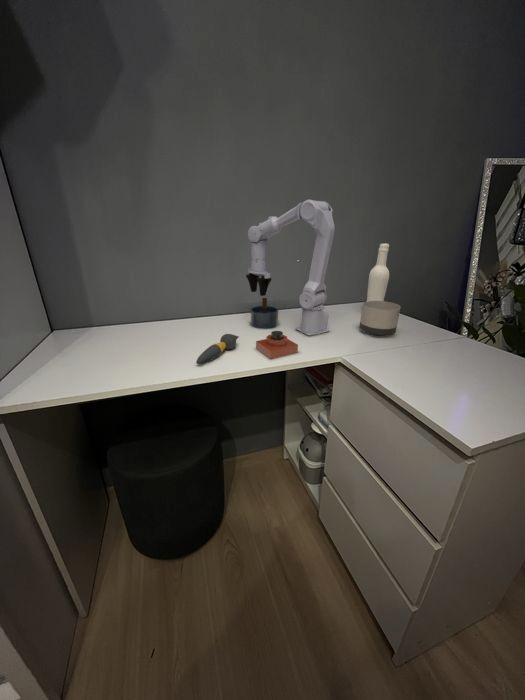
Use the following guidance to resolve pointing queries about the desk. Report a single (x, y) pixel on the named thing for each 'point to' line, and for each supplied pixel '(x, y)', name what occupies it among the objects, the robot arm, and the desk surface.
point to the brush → (264, 306)
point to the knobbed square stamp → (276, 347)
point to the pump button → (276, 335)
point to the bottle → (379, 276)
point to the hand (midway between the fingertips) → (258, 293)
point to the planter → (379, 318)
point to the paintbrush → (217, 348)
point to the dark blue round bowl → (264, 317)
